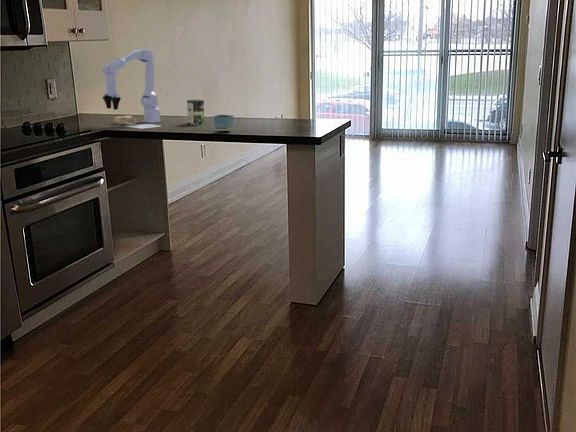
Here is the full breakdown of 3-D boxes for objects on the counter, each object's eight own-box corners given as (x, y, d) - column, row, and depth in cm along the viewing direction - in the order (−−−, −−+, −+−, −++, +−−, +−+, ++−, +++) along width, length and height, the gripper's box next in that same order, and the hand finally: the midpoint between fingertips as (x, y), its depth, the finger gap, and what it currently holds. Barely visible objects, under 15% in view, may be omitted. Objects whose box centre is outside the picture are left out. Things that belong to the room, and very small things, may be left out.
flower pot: (234, 131, 342) (234, 115, 340) (227, 133, 334) (227, 117, 332) (220, 130, 345) (219, 114, 342) (213, 132, 337) (213, 116, 334)
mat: (145, 124, 367) (145, 123, 367) (163, 126, 358) (163, 126, 358) (124, 126, 355) (124, 126, 355) (141, 129, 346) (141, 128, 346)
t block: (129, 122, 373) (129, 115, 372) (142, 123, 366) (141, 117, 365) (113, 123, 364) (113, 117, 363) (125, 125, 357) (125, 118, 356)
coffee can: (206, 122, 376) (206, 100, 372) (201, 124, 366) (200, 101, 362) (191, 122, 378) (190, 99, 374) (185, 124, 368) (184, 100, 364)
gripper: (98, 84, 351) (99, 108, 355) (111, 86, 341) (112, 110, 345) (109, 84, 356) (110, 107, 360) (122, 85, 346) (123, 109, 350)
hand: (112, 109), depth 353 cm, fingers open, 7 cm apart
